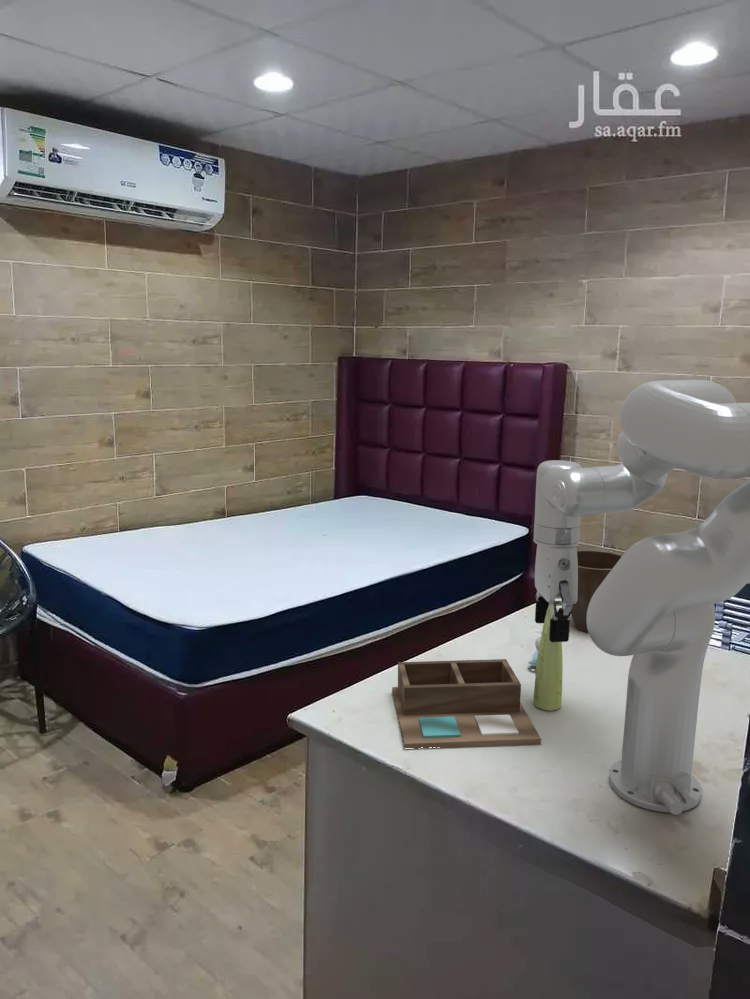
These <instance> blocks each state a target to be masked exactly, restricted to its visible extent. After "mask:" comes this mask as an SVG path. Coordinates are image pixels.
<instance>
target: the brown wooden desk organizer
mask: <svg viewBox="0 0 750 999" xmlns="http://www.w3.org/2000/svg"><path fill="white" fill-rule="evenodd" d="M391 689H392V690H391V691H392V692H391V693H393V694H392V698H393V701H394V702H395V703H394V707H396V708H395V712H396V711H397V712H396V715H397V716H398V717H397V716H396V717H397V721H398V720H399V721H398V726H399V725H400V726H399V730H401V731H400V735H401V734H402V735H401V739H402V738H403V740H402V743H404V745H403V748H404V747H405V748H421V747H423V748H429V747H432V749H434V748H433V747H436V748H435V749H438V748H437V747H440V748H439V749H453V748H454V749H457V748H476V747H477V748H478V747H479V748H480V747H483V748H484V747H509V746H531V745H532V746H533V745H538V746H539V745H542V744H541V743H542V738H541V736H540V735H539V732H538V731H537V729H536V728H535V726H534V724H533V722H532V720H531V718H530V717H529V715H528V713H527V711H526V710H525V708H524V706H523V703H522V702H521V697H522V696H521V694H522V693H521V692H522V684H521V682H520V681H519V679H518V677H517V675H516V673H515V671H514V670H513V668H512V667H511V664H509V662H508V659H506V658H499V659H498V658H496V659H470V660H469V659H465V660H464V659H462V660H433V661H431V660H430V661H428V660H427V661H425V660H424V661H423V660H422V661H398V662H397V686H392V687H391Z"/></svg>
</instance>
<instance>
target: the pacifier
mask: <svg viewBox="0 0 750 999" xmlns="http://www.w3.org/2000/svg"><path fill="white" fill-rule="evenodd" d="M540 640H541V636H539V637H537V638H536V640H535V643H534V645H535V649H536V650H535V651H534V652H533V655H532V660H530V661H528V662H527V663H528V664H529V665H531V666H535V668H536V667H537V659H538V652H539V646H540Z"/></svg>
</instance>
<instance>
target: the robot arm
mask: <svg viewBox="0 0 750 999" xmlns="http://www.w3.org/2000/svg"><path fill="white" fill-rule="evenodd" d="M619 414H620V415H619V416H620V418H619V423H620V428H621V432H620V433H619V435H618V437H617V440H616V452H617V456H618V459H619V460H620V462H621V463H620V464H617V465H600V466H591V467H590V466H589V467H582V466H581V464H580V463H578V462H576V461H570V460H562V459H561V460H559V459H557V460H551V459H550V460H545V461H543V462H541V463H540V464H539V465H538V467H537V470H536V481H535V482H536V483H535V484H536V486H535V503H534V504H535V505H534V524H533V525H534V526H533V542H534V544H536V555H535V562H534V563H535V564H534V587H535V589H536V594H535V600H536V601H535V609H534V610H535V613H534V615H535V616H534V622H535V623H536V624H544V621H545V616H546V612H547V609H548V606H549V603H550V604H551V609H552V618H553V619H550V633H549V640H550V641H551V642H562V643H565V642H566V643H567V642H569V638H570V624H571V623H570V622H571V619H572V616H571V609H572V607H573V604H575V603H576V602H577V597H578V559H577V551H578V550H577V549H578V548H577V546H579V544H580V535H581V534H580V533H581V532H580V531H581V530H580V529H581V517H584V516H594V515H601V514H613V513H622V512H623V513H624V512H627V511H630V510H633V509H635V508H636V507H638V506H639V507H640V505H642V504H643V503H645V502H646V501H648V500H649V501H650V499H652V498H653V497H655V496H656V495H658V494H659V493H660V492H661V491H662V490H663V488H664V486H665V484H666V482H667V479H668V475H669V472H671V471H672V470H674V469H675V468H679V469H681V470H684V471H686V472H687V473H688V472H689V473H690V474H692V475H695V476H698V477H702V478H705V479H706V478H707V479H710V480H711V479H712V480H733V479H743V478H744V479H746V478H750V402H736V398H735V397H734V395H733V394H732V393H731V391H730V390H728V389H727V388H726V387H725V386H723V385H722V384H719V383H717V382H715V381H712V380H706V379H680V380H679V379H670V380H668V379H666V380H651V381H647V382H644V383H642V384H640V385H638V386H637V387H635V388H634V389H633V390H632V391H630V393H629V394H628V395H627V397H626V398H625V400H624V402H623V404H622V406H621V409H620V413H619ZM621 556H622V557H621V558H620V559H619V561H618V562H617V563H616V565H615V566H614V567H613V569H612V570H611V571H610V573H609V574H608V575H607V576H606V578H605V579H604V580H603V582H602V583H601V584H600V586H599V587H598V588H597V590H596V591H595V593H594V595H593V596H592V598H591V600H590V603H589V606H588V610H587V617H586V621H587V629H588V632H587V634H588V635H589V637H590V639H591V641H592V643H593V644H594V645H595V646H596V647H597V648H598V649H599V650H600V651H602V652H604V653H605V654H608V655H611V656H616V657H630V656H632V659H631V660H630V664H629V669H628V674H627V688H626V695H625V696H626V698H625V700H626V701H625V711H624V724H623V725H624V726H623V736H622V751H621V760H619V761H617V762H616V763H614V764H613V765H612V766H611V768H610V769H609V774H608V775H609V777H608V780H609V784H610V786H611V789H612V790H613V791H614V792H615V793H616V794H617V795H618V796H620V797H621V798H622V799H623V800H625V801H626V802H628V803H630V804H633V805H635V806H637V807H639V808H642V809H645V810H649V811H653V812H660V813H671V814H672V815H674V816H677V815H680V814H682V813H683V812H686V811H689V810H691V809H693V808H694V807H696V806H698V805H699V803H700V801H701V799H702V792H703V790H702V786H701V783H700V782H699V781H698V779H697V778H696V777H695V776H694V775H693V774H692V772H693V771H692V770H693V764H694V763H693V762H694V753H695V752H694V751H695V741H696V731H697V721H698V712H699V711H698V710H699V703H700V702H699V700H700V695H701V694H700V692H701V683H702V677H703V675H702V674H703V668H704V663H705V659H706V655H707V651H708V648H709V645H710V642H711V638H712V635H713V632H714V628H715V624H716V607H715V604H718V603H722V602H725V601H728V600H729V599H731V598H733V597H734V596H735V595H737V594H738V593H739V592H740V591H741V590H742V589H743V588H744V587H745V586H746V585H747V584H748V583H749V582H750V479H748V480H747V481H746V482H744V483H743V484H742V485H740V486H739V487H738V488H736V489H734V490H733V491H732V492H730V493H729V494H728V495H726V496H725V497H724V498H723V499H722V500H721V501H720V502H719V503H718V504H717V506H716V507H715V509H714V510H713V511H712V512H711V513H710V514H709V515H708V517H706V519H705V520H703V521H702V522H701V523H700V524H699V525H698V526H696V527H694V528H692V529H687V530H683V531H677V532H671V533H663V534H656V535H651V536H647V537H644V538H642V539H640V540H639V541H637V542H635V543H634V544H632V545H631V546H630V547H629V548H628V549H627V550H626V551H625V552H624V553H623V554H622V555H621ZM555 599H557V600H555ZM558 599H561V600H558ZM558 606H559V608H558V609H557V607H558Z"/></svg>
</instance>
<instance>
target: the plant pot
mask: <svg viewBox="0 0 750 999" xmlns="http://www.w3.org/2000/svg"><path fill="white" fill-rule="evenodd" d="M622 556H623V555H620V554H617V553H612V552H607V551H599V550H577V559H578V597H577V602H576V603H575V604H573V607H572V609H571V614H570V616H571V619H572V621H573V624H574V626H575V628H576V629H577V630H579V631H581V632H585V633H588V629H587V621H586V617H587V610H588V606H589V603H590V600H591V598H592V596H593V595H594V593H595V591H596V590H597V588H598V587H599V586H600V584H601V583H602V582H603V580H604V579H605V578H606V576H607V575H608V574H609V573H610V571H611V570H612V569H613V567H614V566H615V565H616V563H617V562H618V561H619V559H620V558H621V557H622Z"/></svg>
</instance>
